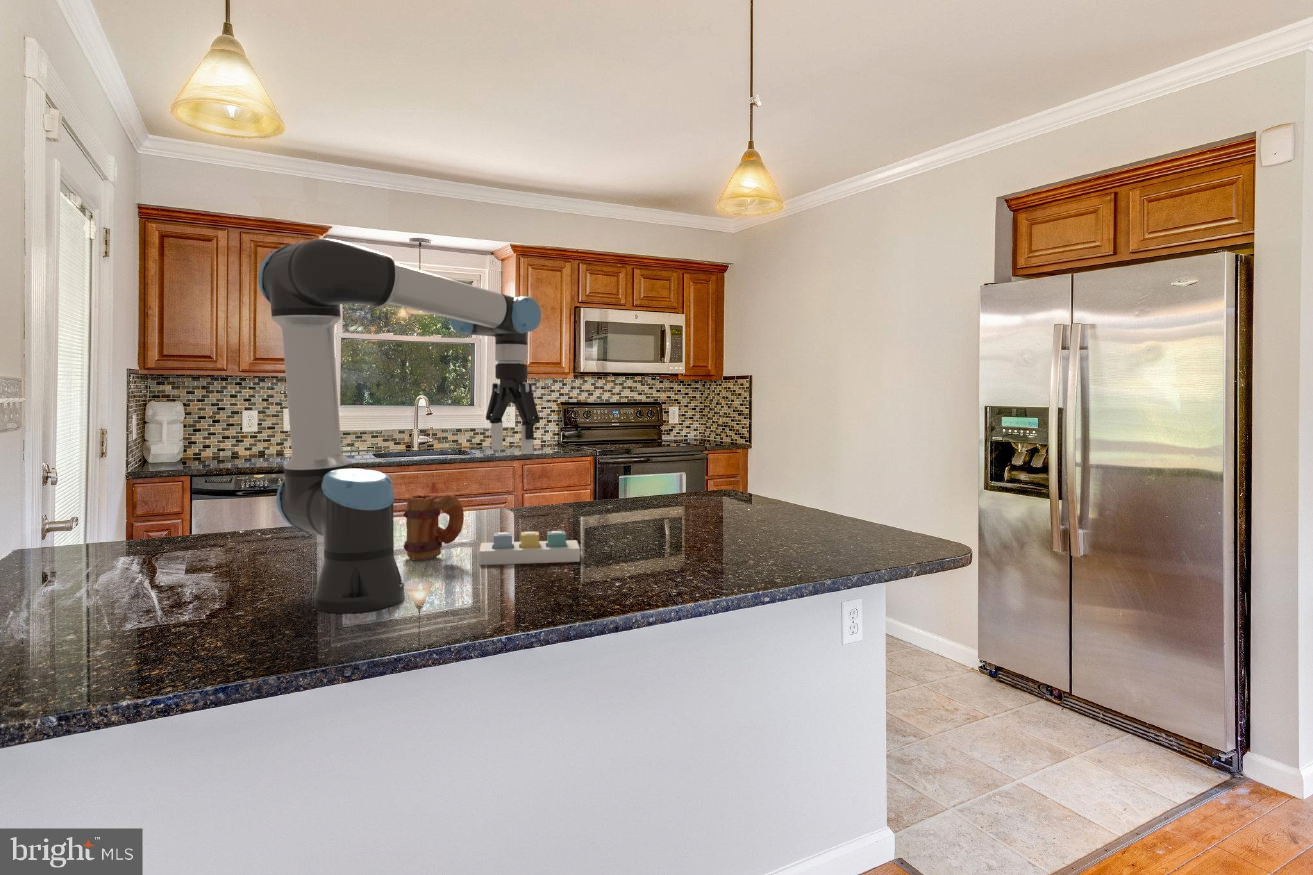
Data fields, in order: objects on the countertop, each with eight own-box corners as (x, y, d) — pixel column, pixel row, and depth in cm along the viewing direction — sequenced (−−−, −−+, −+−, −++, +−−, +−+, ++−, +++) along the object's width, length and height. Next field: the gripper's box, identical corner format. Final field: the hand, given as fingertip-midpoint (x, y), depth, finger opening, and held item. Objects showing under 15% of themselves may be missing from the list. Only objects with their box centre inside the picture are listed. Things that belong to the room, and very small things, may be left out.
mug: (394, 560, 161) (393, 494, 160) (416, 553, 169) (415, 489, 168) (451, 566, 157) (450, 497, 156) (471, 558, 164) (471, 492, 163)
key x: (521, 549, 162) (521, 534, 162) (520, 545, 166) (520, 531, 166) (539, 548, 163) (539, 534, 163) (538, 545, 167) (538, 530, 166)
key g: (548, 548, 163) (548, 533, 163) (547, 544, 167) (547, 530, 167) (565, 548, 164) (565, 533, 164) (564, 544, 168) (564, 530, 168)
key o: (493, 550, 161) (493, 535, 161) (494, 546, 165) (494, 531, 164) (511, 549, 162) (511, 534, 161) (511, 545, 165) (511, 531, 165)
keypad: (479, 564, 158) (479, 551, 158) (481, 555, 167) (481, 542, 167) (579, 561, 162) (579, 548, 162) (576, 552, 171) (576, 540, 171)
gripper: (554, 362, 165) (554, 454, 167) (498, 364, 184) (498, 447, 185) (526, 361, 160) (526, 456, 162) (471, 363, 179) (472, 448, 180)
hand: (511, 451), depth 173 cm, fingers open, 13 cm apart
